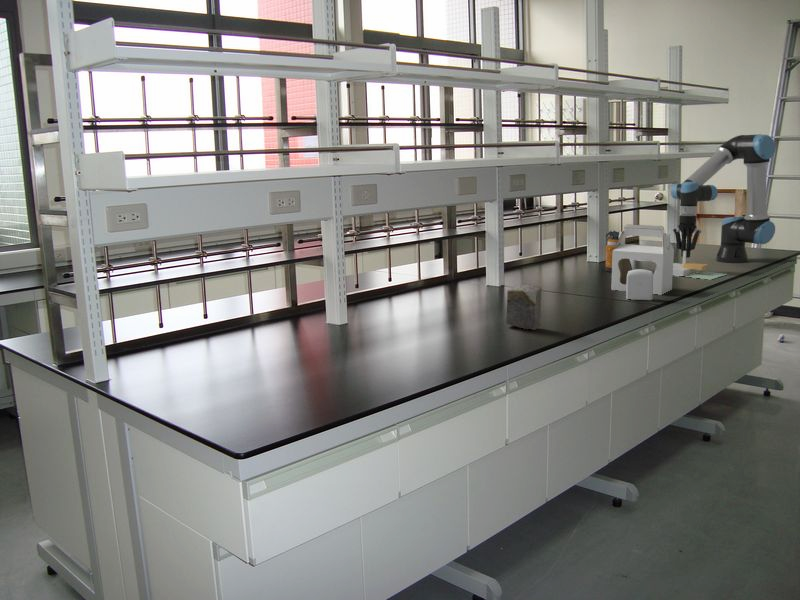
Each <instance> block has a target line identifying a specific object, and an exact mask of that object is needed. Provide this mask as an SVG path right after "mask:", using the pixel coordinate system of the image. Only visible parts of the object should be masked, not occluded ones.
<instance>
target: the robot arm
mask: <svg viewBox="0 0 800 600" xmlns="http://www.w3.org/2000/svg"><path fill="white" fill-rule="evenodd" d="M775 153H776V143H775V140H774V138H772V137H771V136H770V135H768V134H761V133H759V134H740V135H736V136H734V137H732V138H730V139H729V140H727V141H725V142H724V143H722V144H721V145H720V146H719V147H718V148H717V149H715V153H714V154H713V155H712V156H711V157H709V158H708V159H707V160H706V161H705V162H704V163H703V164H702V165H701V166H700V167H698V168H697V169H696V170H695V171H693V173H691V175H689V177H687V178H686V179H685V180H684V181H683V182H681V183H675V184H674V185H672V187H671V188H670V196H671V197H672V198H673V199H675V200H679V201H680V205H679V216H678V217H679V218H678V219H679V220H678V222H679V224H678V226H677V227H676V228H674V229H673V230H672V231H673V233H674V235H675V241H676V247H677V249H678V250H681V251H680V252H681V253H680V257H681V258H682V262H681V264H685V263H688V262H689V258H691V251H693V250H695V249H696V246H697V243H698V240H699V239H698V238H699V236H700V234H701V233H702V230H700V229H699V228H697V213H698V202H710V201H714V200H716V198H717V197H718V194H719V193H718V192H719V191H718V188H717V187H716V186H715V185H713V184H706V183H707V182H708V181H709V180H710V179H711V178H712V177H713V176H715V175H716V174H717V173H718V172H719V171H721V169H723V168H724V166H726V165H729V164H731V163H732V162H733V161H735V160H739V159H740V160H742V159H743V165H744V166H745V167H746V191H747V192H746V193H747V194H746V199H747V201H746V202H747V203H746V209H747V210H746V212H747V214H746V215H743V216H731V217H724V218H723V219H722V223H721V234H720V246H719V249H718V252H717V253H716V257H715V260H716V261H717V262H723V263H732V264H733V263H747V262H748V261H749V260H748V259H749V255H748V253H747V249H746V243H749V244H756V245H767V244H768V243H770V241H771V240H772V239H773V238H774V236H775V233H776V225H775V223H774V222H772V221H771V216H770V215H769V214H768V213H767V166H768V164H769V163H770V162H771V159H772V158H773V157H774V155H775ZM693 233H694V235H693Z"/></svg>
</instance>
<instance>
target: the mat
mask: <svg viewBox="0 0 800 600" xmlns="http://www.w3.org/2000/svg"><path fill="white" fill-rule="evenodd" d="M725 275H726V276H728V273H721V272H713V271H712V272H711V271H703V270H701V272H699V273H695V274H692V275H688V276H685V277H684V278H687V277H692V278H691V279H696V278H700V279H699V280H704V279H708V280H707V281H712V279H713V280H715V278H716V279H719V278H721V276H722V277H725ZM718 277H719V278H718Z"/></svg>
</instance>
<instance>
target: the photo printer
mask: <svg viewBox="0 0 800 600" xmlns="http://www.w3.org/2000/svg"><path fill="white" fill-rule="evenodd" d="M653 274H654V273H653V271H651V270H648V269H643V268H642V269H641V268H637V269H632V270H631V271H628V274H627V285H626V286H627V287H626V292H625V297H626V300H627V299H631V300H632V301H637V300H638V301H653V298H654V295H653ZM631 300H630V301H631Z"/></svg>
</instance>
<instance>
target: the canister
mask: <svg viewBox="0 0 800 600" xmlns="http://www.w3.org/2000/svg"><path fill="white" fill-rule="evenodd" d="M619 232H620V231H616V230H613V231H612V230H610V231H609V232H607V234H605V239H606V246H605V260H604V261H605V269H604V270H605V271H607V272H608V273H612V257H613V249H614V247H615V245H616V243H617V241H618V239H619Z"/></svg>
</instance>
